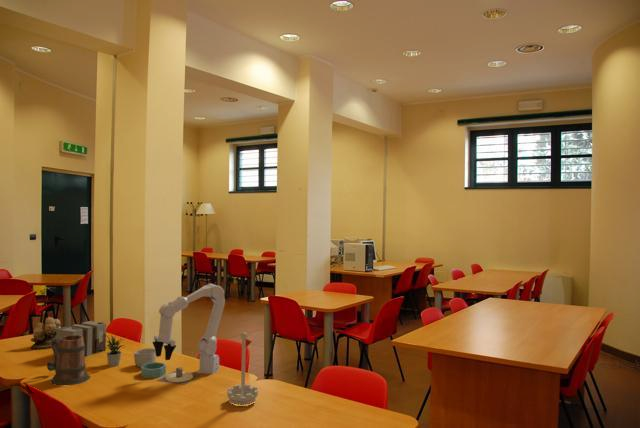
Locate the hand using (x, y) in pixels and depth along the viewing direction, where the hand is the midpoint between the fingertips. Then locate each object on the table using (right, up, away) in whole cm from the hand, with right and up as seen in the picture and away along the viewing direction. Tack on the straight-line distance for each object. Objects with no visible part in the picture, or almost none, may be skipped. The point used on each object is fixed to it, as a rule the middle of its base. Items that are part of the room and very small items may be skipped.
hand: (163, 358), depth 236 cm
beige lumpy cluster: (-84, -8, +51) cm, 99 cm away
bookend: (-58, -9, +38) cm, 69 cm away
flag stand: (+42, -12, -25) cm, 50 cm away
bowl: (-7, -10, +6) cm, 14 cm away
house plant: (-33, -10, +20) cm, 40 cm away
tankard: (-46, -9, -2) cm, 47 cm away
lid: (+7, -10, +2) cm, 13 cm away
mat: (+7, -11, +2) cm, 13 cm away
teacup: (-15, -10, +21) cm, 28 cm away
